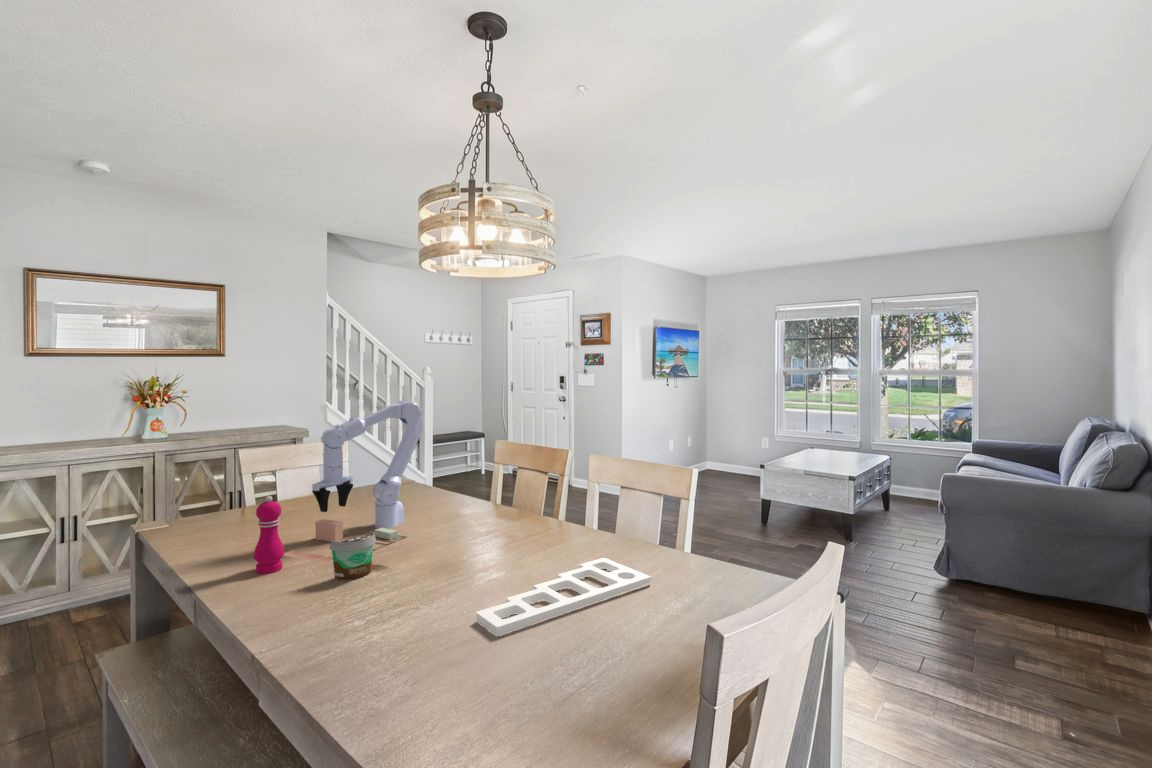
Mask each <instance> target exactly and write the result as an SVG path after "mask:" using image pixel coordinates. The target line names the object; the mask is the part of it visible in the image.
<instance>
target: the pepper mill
mask: <svg viewBox="0 0 1152 768" xmlns="http://www.w3.org/2000/svg"><path fill="white" fill-rule="evenodd" d="M264 500H265V501H264V502H262V503H260V504H258V506H257V508H256V510H255V515H256V517H257V519H259V520H258V524H257V525H258V527H259V530H260V531H259V537H258V541H257V544H256V546H255V548H254V551H253V559H254V560H255V561H256V562H257V563H256V564H255V572H256V573H257V574H262V575H263V574H272V573H276V571H277V572H279V571H280V570H282V569H283V561H282V560H281V559H282V558H283V557H284V555H285V547H284V544H283V542H282V540H281V538H280V535H279V531H278V530H279V529H278V528H279V527H278V526H279V525H280V518H279V517H280V515H281V514H282V507H281V506H282V505H280V504H279V503H278V502H276V501H273V496H271V495H267V496H266V497H265V498H264Z"/></svg>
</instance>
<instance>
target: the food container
mask: <svg viewBox="0 0 1152 768" xmlns="http://www.w3.org/2000/svg"><path fill="white" fill-rule="evenodd" d="M374 533H375V532H374V531H371V530H370V531H369V534H366V535H363V536H355V537H350V538H348V539H345V540H341V541H337V542H334V541H330V544H329V550H331V554H332V562H333V563H332V564H333V572H334V579H336V578H337V579H336V580H340V579H342V580H341V581H351V580H350V579H352V580H357V579H362V578H364V576H365V577H367V576H369V575H370V574H371V572H372V564H373V563H372V561H373V552H374V551H373V549H374V544H375V543H376V542H377V540H376V539H377V537H375V535H374ZM375 545H376V544H375ZM369 573H370V574H369ZM361 577H362V578H361Z"/></svg>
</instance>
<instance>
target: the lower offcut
mask: <svg viewBox="0 0 1152 768" xmlns="http://www.w3.org/2000/svg"><path fill="white" fill-rule="evenodd" d="M375 538H377V539H382V538H381V537H376V536H375ZM400 538H402V537H397V538H394V539H391V541H395V540H398V539H400Z"/></svg>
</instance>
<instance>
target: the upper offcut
mask: <svg viewBox="0 0 1152 768" xmlns="http://www.w3.org/2000/svg"><path fill="white" fill-rule="evenodd" d="M374 533H375V536H376V537H375V538H378V537H381V538H380V539H384V540H388V541H392V539H394V538H397V537H398V535H399V531H398V530H396V529H392V528H376V529H374Z"/></svg>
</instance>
